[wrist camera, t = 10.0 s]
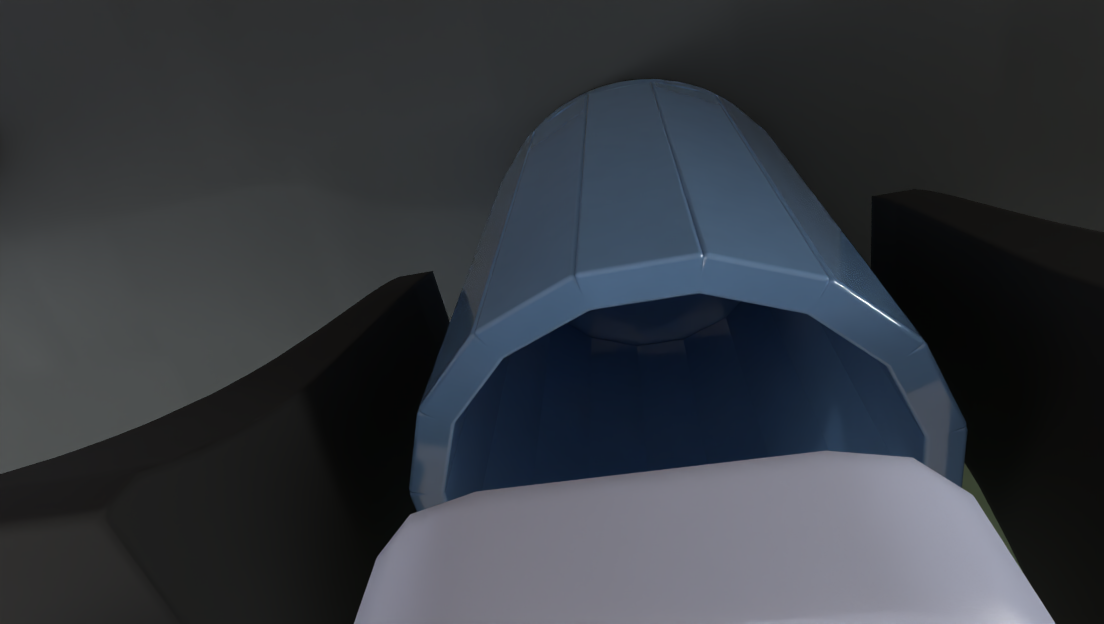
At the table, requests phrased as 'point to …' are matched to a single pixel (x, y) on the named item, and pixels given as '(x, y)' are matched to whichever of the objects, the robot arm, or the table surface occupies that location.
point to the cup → (667, 313)
